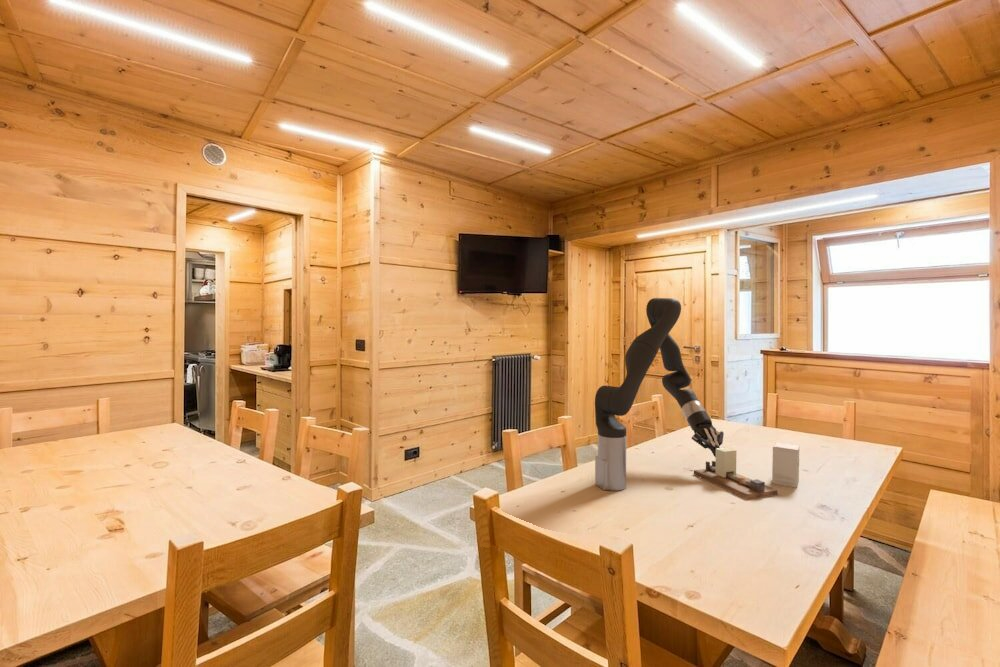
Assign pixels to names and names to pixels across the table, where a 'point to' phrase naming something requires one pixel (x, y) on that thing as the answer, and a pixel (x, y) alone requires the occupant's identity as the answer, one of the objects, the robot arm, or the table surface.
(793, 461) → the supplement box
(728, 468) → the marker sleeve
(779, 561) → the table surface
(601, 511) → the table surface
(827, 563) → the table surface
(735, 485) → the rail
